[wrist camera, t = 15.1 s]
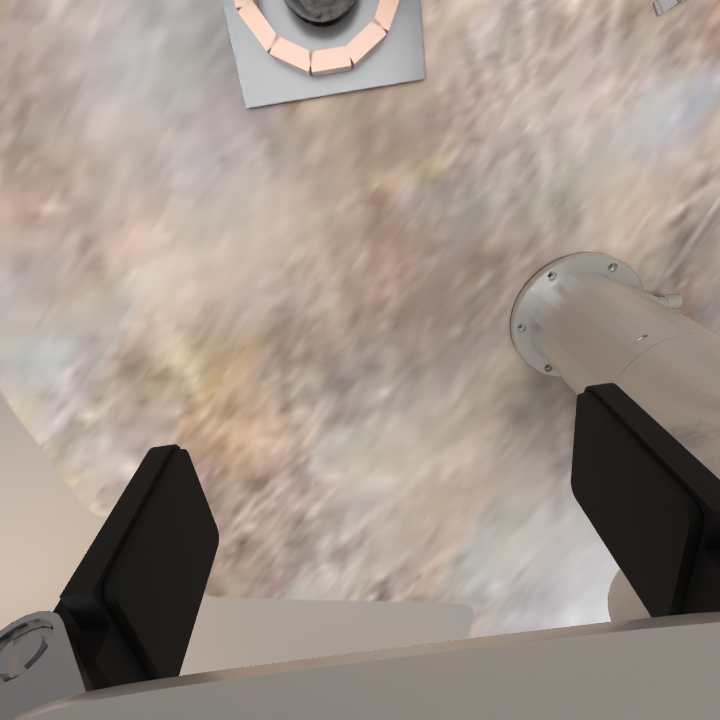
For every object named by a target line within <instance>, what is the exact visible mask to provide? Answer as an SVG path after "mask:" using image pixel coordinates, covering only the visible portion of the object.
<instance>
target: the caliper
mask: <svg viewBox="0 0 720 720" xmlns="http://www.w3.org/2000/svg"><path fill="white" fill-rule="evenodd" d="M682 1H683V0H657V1H655V2H654V3H653V4H654V7H655V10H656V13H657V16H659V15H661V14H662V13H664V12H666V11H667V10H669V9H670V8H671V7H673V6H674V5H676V4H677V3H678V2H682Z"/></svg>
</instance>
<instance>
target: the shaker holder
mask: <svg viewBox="0 0 720 720" xmlns="http://www.w3.org/2000/svg"><path fill="white" fill-rule="evenodd" d="M222 3H223V7H224V12H225V16H226V20H227V25H228V29H229V34H230V38H231V43H232V47H233V52H234V56H235V61H236V65H237V70H238V74H239V79H240V83H241V87H242V92H243V96H244V101H245V105H246V108H248V109H250V108H256V107H262V106H268V105H274V104H280V103H286V102H292V101H298V100H304V99H310V98H316V97H322V96H328V95H334V94H341V93H347V92H353V91H359V90H365V89H371V88H377V87H383V86H389V85H395V84H401V83H407V82H413V81H419V80H424V79H425V64H424V50H423V36H422V22H421V8H420V0H355V2H354V5H353V6H352V8H351V10H350V12H349V13H348V14H347V15H346V16H345V18H344V19H343V20H342V21H340V22H338V23H336V24H335V25H332V26H328V27H316V26H312V25H310V24H308V23H305V22H304V21H303V20H302V19H301V18H299V17H298V16H297V15H296V13H295V12H294V11H293V10H291V9H290V8H289V6H288V5H287V4H286V2H285V1H284V0H222Z"/></svg>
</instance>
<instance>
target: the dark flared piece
mask: <svg viewBox="0 0 720 720" xmlns="http://www.w3.org/2000/svg"><path fill="white" fill-rule="evenodd" d="M284 1H285V2H286V4H287V5H288V6H289V8H290V9H291V10H293V11H294V12H295V13H296V15H297V16H298V17H299V18H301V19H302V20H303V21H304V22H305V23H308V24H310V25H312V26H316V27H328V26H332V25H335V24H336V23H338V22H340V21H342V20H343V19H344V18H345V16H346V15H347V14H348V13H349V12H350V10H351V8H352V6H353V5H354V2H355V0H284Z"/></svg>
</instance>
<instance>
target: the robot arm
mask: <svg viewBox="0 0 720 720" xmlns="http://www.w3.org/2000/svg"><path fill="white" fill-rule="evenodd" d="M609 265H610V266H609ZM608 266H609V267H608ZM549 273H551V275H550V276H548V274H549ZM681 306H682V298H681V296H680V295H679V294H671V295H665V296H662V297H656V296H654V295H652V294H650V293H649V292H647V291H645V290H643V286H642V284H641V282H640V280H639V278H638V276H637V275H636V273H635V272H634V271H633V270H632V269H631V268H630V267H629V266H628V265H626V264H625V263H623V262H622V261H620V260H618V259H616V258H614V257H611V256H608V255H604V254H600V253H586V252H585V253H579V254H572V255H569V256H566V257H563V258H560V259H558V260H556V261H554V262H553V263H551V264H549V265H547V266H546V267H544V268H543V269H542V270H540V271H539V272H538V273H537V274H535V276H534V277H533V278H532V279H531V280H530V281H529V282H528V283H527V284H526V285H525V287H524V288H523V290H522V291H521V293H520V294H519V296H518V299H517V301H516V303H515V305H514V308H513V312H512V316H511V335H512V340H513V343H514V345H515V348H516V350H517V351H518V353H519V354H520V355H521V357H522V358H523V359H524V360H525V361H526V362H527V364H528V365H530V366H531V367H532V368H534V369H535V370H537V371H539V372H541V373H543V374H546V375H550V376H555V377H561V378H562V379H563V380H564V381H565V382H566V383H567V384H568V386H569V387H570V388H571V389H572V390H573V391H574V392H575V393H576V395H577V405H576V419H575V433H574V446H573V460H572V474H571V487H572V491H573V494H574V496H575V498H576V500H577V501H578V503H579V504H580V506H581V508H582V509H583V511H584V512H585V514H586V515H587V517H588V519H589V520H590V522H591V523H592V525H593V526H594V528H595V530H596V531H597V533H598V534H599V536H600V537H601V539H602V541H603V542H604V544H605V545H606V547H607V548H608V550H609V552H610V553H611V555H612V556H613V558H614V559H615V561H616V563H617V564H618V566H619V567H620V569H619V571H618V572H617V573H616V575H615V577H614V579H613V581H612V583H611V585H610V589H609V594H608V611H609V615H610V619H611V622H605V623H596V624H588V625H579V626H571V627H563V628H554V629H546V630H537V631H529V632H520V633H512V634H503V635H495V636H487V637H478V638H470V639H462V640H454V641H447V642H439V643H430V644H422V645H414V646H406V647H398V648H390V649H382V650H374V651H366V652H358V653H350V654H343V655H334V656H326V657H318V658H311V659H303V660H296V661H288V662H280V663H272V664H265V665H257V666H249V667H242V668H235V669H226V670H218V671H211V672H204V673H197V674H191V675H183V676H179V674H180V670H181V667H182V664H183V660H184V657H185V654H186V650H187V647H188V644H189V640H190V637H191V634H192V631H193V627H194V624H195V621H196V617H197V614H198V611H199V607H200V604H201V601H202V597H203V594H204V591H205V587H206V584H207V581H208V577H209V574H210V571H211V568H212V564H213V561H214V558H215V554H216V551H217V548H218V543H219V533H218V529H217V526H216V523H215V521H214V518H213V516H212V513H211V510H210V508H209V505H208V503H207V500H206V497H205V495H204V492H203V490H202V487H201V484H200V482H199V479H198V477H197V474H196V471H195V469H194V466H193V464H192V461H191V458H190V456H189V453H188V451H187V450H185V449H180V447H179V446H178V445H176V444H174V445H167V446H160V447H153V448H151V449H150V450H149V451H148V453H147V454H146V456H145V458H144V459H143V461H142V463H141V464H140V466H139V467H138V469H137V471H136V472H135V474H134V476H133V477H132V479H131V481H130V482H129V484H128V485H127V487H126V489H125V490H124V492H123V494H122V495H121V497H120V499H119V500H118V502H117V504H116V505H115V507H114V508H113V510H112V512H111V513H110V515H109V517H108V518H107V520H106V522H105V523H104V525H103V527H102V528H101V530H100V531H99V533H98V535H97V536H96V538H95V540H94V542H93V543H92V545H91V546H90V548H89V549H88V551H87V553H86V554H85V556H84V558H83V559H82V561H81V563H80V564H79V566H78V568H77V569H76V571H75V572H74V574H73V576H72V577H71V579H70V581H69V582H68V584H67V586H66V587H65V589H64V590H63V592H62V594H61V595H60V601H59V603H58V605H57V606H56V608H55V610H54V611H53V612H51V611H40V612H35V613H32V614H29V615H26V616H24V617H22V618H20V619H18V620H16V621H14V622H12V623H10V624H9V625H8V626H6V627H5V628H4V629H2V630H1V631H0V720H720V335H719V334H717V333H715V332H713V331H711V330H710V329H708V328H706V327H704V326H702V325H700V324H698V323H697V322H695V321H693V320H692V319H691V318H690V317H689V316H688V315H685V314H684V315H682V314H680V313H678V312H676V311H674V310H672V309H679V308H680V307H681ZM519 325H521V326H520V327H518V326H519Z"/></svg>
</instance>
